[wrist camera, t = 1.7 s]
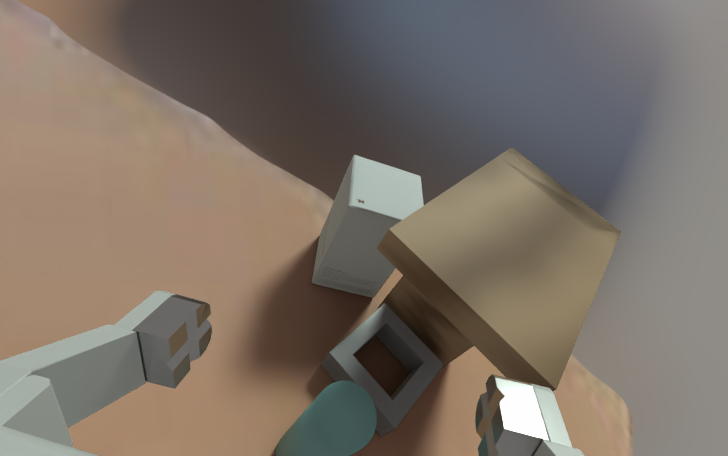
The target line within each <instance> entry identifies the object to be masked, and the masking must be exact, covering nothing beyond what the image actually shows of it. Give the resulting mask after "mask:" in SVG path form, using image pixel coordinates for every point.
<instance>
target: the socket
mask: <svg viewBox="0 0 728 456" xmlns="http://www.w3.org/2000/svg"><path fill="white" fill-rule="evenodd" d="M375 335H376V336H377V337H378V339H379V340H380V341H381V342H382V343H383V344H384V345H385V346H386V347H387V348H388V349H389V350H390V352H391V353H392V354H393V355H394V356H395V357H396V358H397V359H398V360H399V361H400V362H401V364H402V365H403V366H404V367H405V368H406V369H407V370H408V371H409V372H410V374H409V375H408V376H407V378H406V379H405V380H404V381H403V382H402V384H401V385H400V386H399V387H398V388H397V390H396V391H395V392H394V393H393V394H392V396H391V397H390V396H389V395H388V394H387V393H386V392H385V391H384V390H383V389H382V387H381V386H380V385H379V384H378V383H377V382H376V381H375V379H374V378H373V377H372V376H371V375H370V374H369V373H368V371H367V370H366V369H365V368H364V367H363V366H362V365H361V364H360V362H359V361H358V360H357V359H356V358H355V357H354V355H355V354H356V353H357V352H358V351H359V350H360V349H361V348H362V347H363V346H365V345H366V344H367V343H368V342H369V341H370V340H371V339H372V338H373V337H374V336H375ZM320 365H321V366H322V367H323V368H324V369H325V370H326V372H327V373H328V374H329V375H330V376H331V378H332V379H333V380H334V381H335V382H337V381H350V382H354V383H356V384H358V385H360V386H361V387H362V388H363V389H365V390H366V391H367V393H368V394H369V395H370V397H371V399H372V401H373V403H374V406H375V409H376V415H377V422H376V428H375V430H376V431H377V432H378V433H379V435H380V436H383V435H385V434H387V433H388V432H390V431H392V430H394V429H395V428H396V427H397V426H398V424H399V423H400V422H401V420H402V419H403V418H404V417H405V415H406V414H407V413H408V411H409V410H410V409H411V407H412V406H413V405H414V403H415V402H416V401H417V399H418V398H419V397H420V396H421V394H422V393H423V392H424V390H425V389H426V388H427V386H428V385H429V384H430V382H431V381H432V380H433V378H434V377H435V376H436V374H437V373H438V372H439V371H440V369H441V368H442V367H443V365H444V364H443V363H442V362H441V361H440V360H439V359H438V358H437V357H436V355H435V354H434V353H433V352H432V351H431V350H430V349H429V348H428V347H427V346H426V345H425V344H424V343H423V342H422V341H421V340H420V339H419V338H418V337H417V336H416V335H415V334H414V333H413V332H412V330H411V329H410V328H409V327H408V326H407V325H406V324H405V323H404V322H403V321H402V320H401V319H400V318H399V317H398V316H397V315H396V314H395V313H394V312H393V311H392V310H391V309H390V308H389V307H388V305H387V304H386V303H384V304H383V305H382V306H381V307H380V308H379V309H378V310H377V311H375V312H374V313H373V314H372V315H371V316H370V317H369V318H368V319H366V320H365V321H364V322H363V323H362V324H361V325H360V326H358V327H357V328H356V329H355V330H354V331H353V332H352V333H351V334H349V335H348V336H347V337H346V338H345V339H344V340H343V341H342V342H340V343H339V344H338V345H337V346H336V347H335V348H334V349H332V350H331V351H330V352H329V353H328V355H327V356H326V358H325V359H324V360H323V362H322V363H321V364H320Z"/></svg>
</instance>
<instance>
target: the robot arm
mask: <svg viewBox="0 0 728 456" xmlns="http://www.w3.org/2000/svg"><path fill="white" fill-rule="evenodd" d="M210 314H211V311H210V305H209V304H208V303H206V302H202V301H198V300H195V299H191V298H188V297H184V296H181V295H177V294H172V293H169V292H165V291H161V290H160V291H156V292H154V293H153V294H151V295H150V296H149V297H148V298H146V299H145V300H144V301H143V302H142V303H140V304H139V305H138V306H137V307H135V308H134V309H133V310H132V311H131V312H129V313H128V314H127V315H126V316H124V317H123V318H122V319H121V320H120V321H118V322H117V323H116V324H115V325H109V324H108V325H105V326H102V327H99V328H96V329H93V330H90V331H87V332H84V333H81V334H78V335H75V336H72V337H69V338H66V339H63V340H60V341H57V342H55V343H52V344H49V345H46V346H43V347H40V348H37V349H34V350H31V351H28V352H25V353H22V354H19V355H16V356H13V357H10V358H7V359H4V360H1V361H0V456H98V455H95V454H92V453H89V452H85V451H82V450H79V449H76V448H73V441H72V438H71V436H70V433H69V430H68V428H69V427H71V426H72V425H74V424H76V423H77V422H79V421H81V420H83V419H84V418H86V417H88V416H90V415H91V414H93V413H95V412H97V411H98V410H100V409H102V408H104V407H105V406H107V405H109V404H110V403H112V402H114V401H116V400H117V399H119V398H121V397H123V396H124V395H126V394H128V393H130V392H131V391H133V390H135V389H137V388H138V387H140V386H142V385H143V384H145V383H146V382H150V383H154V384H159V385H163V386H167V387H171V388H176V387H177V385H178V384H179V383H180V382H181V380H182V379H183V378H184V377H185V375H186V374H187V373H188V372H189V370H190V362H191V361H193V360H195V359H197V358H200V357H201V355H202V354H203V353H204V351H205V350H206V348H207V346H208V344H209V342H210V339H211V333H212V326H211V324H210V323H209V321H208V320H207V318H208V316H209V315H210ZM486 389H487V392H486V393H484V394H482V395H481V396H480V398H479V401H478V403H477V409H476V432H477V433H478V435H479V436H480V437H481V439H482V441H481V443H480V445H479V447H478V452H479V456H585V455H584V454H583V453H582V452H581V451H580V450H579V449H576V448H573V446H572V444H571V441H570V438H569V435H568V433H567V430H566V427H565V424H564V421H563V419H562V416H561V413H560V410H559V407H558V405H557V402H556V399H555V396H554V393H553V391H552V390H551V389H550V388H547V387H543V386H539V385H535V384H529V383H526V382H522V381H518V380H514V379H509V378H505V377H501V376H497V375H493V374H492V375H491V376H490V377H489V378H488V380H487V382H486Z"/></svg>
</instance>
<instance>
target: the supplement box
mask: <svg viewBox="0 0 728 456" xmlns="http://www.w3.org/2000/svg"><path fill="white" fill-rule="evenodd" d="M423 206H424V205H423V196H422V185H421V177H420V176H418V175H415V174H412V173H409V172H406V171H403V170H400V169H397V168H394V167H391V166H387V165H384V164H381V163H378V162H375V161H372V160H368V159H365V158H362V157H360V156H357V155H354V156H353V159H352V161H351V163H350V165H349V167H348V170H347V172H346V174H345V176H344V179H343V182H342V184H341V186H340V188H339V191H338V193H337V196H336V198H335V200H334V203H333V205H332V208H331V210H330V212H329V215H328V217H327V220H326V222H325V224H324V226H323V229H322V231H321V233H320V237H319V242H318V247H317V253H316V259H315V266H314V272H313V278H312V283H313V284H317V285H321V286H325V287H329V288H333V289H337V290H341V291H345V292H349V293H354V294H358V295H362V296H366V297H372V298H373V297H375V295H376V294H377V293H378V291H379V290H380V289H381V287H382V286H383V284H384V283H385V282H386V280H387V279H388V278H389V276H390V275H391V274H392V272H393V271H394V269H395V268H396V267H395V266H394V265H393V264H392V263H391V262H390V261H389V260H388V259H387V258H386V257H385V256H384V255H383V254H382V253H381V252H380V251H379V250H378V249H377V247H378V245H379V244H380V242H381V241H382V239H383V237H384V236H385V234H386V233H387V231H388V230H389V229H390V228H391V227H393V226H394V225H396V224H397V223H399V222H400V221H402V220H403V219H405V218H406V217H408V216H409V215H411V214H412V213H414V212H415V211H417V210H418V209H420V208H421V207H423Z"/></svg>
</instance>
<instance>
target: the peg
mask: <svg viewBox="0 0 728 456" xmlns="http://www.w3.org/2000/svg"><path fill="white" fill-rule="evenodd" d="M376 422H377V415H376V409H375V406H374V403H373V401H372V399H371V397H370V395H369V394H368V393H367V391H366V390H365V389H363V388H362V387H361V386H360V385H358V384H356V383H354V382H350V381H337V382H334V383H332V384H330V385H328V386H327V387H326V388H324V389H323V391H322V392H321V393H320V394H319V395H318V396H317V397H316V399H315V400H314V401H313V402H312V403H311V404H310V406H309V407H308V408H307V409H306V410H305V411H304V412H303V414H302V415H301V416H300V417H299V418H298V419H297V420H296V422H295V423H294V424H293V425H292V426H291V427H290V429H289V430H288V431H287V432H286V433H285V434H284V435H283V437H282V438H281V439H280V441H279V443H278V445H277V448H276V453H275V456H350V455H352V454H354V453H356V452H357V451H359V450H361V449H362V448H364V447H365V446H366V445H367V444H368V443H369V442H370V440H371V439H372V437H373V435H374V432H375V428H376Z"/></svg>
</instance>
